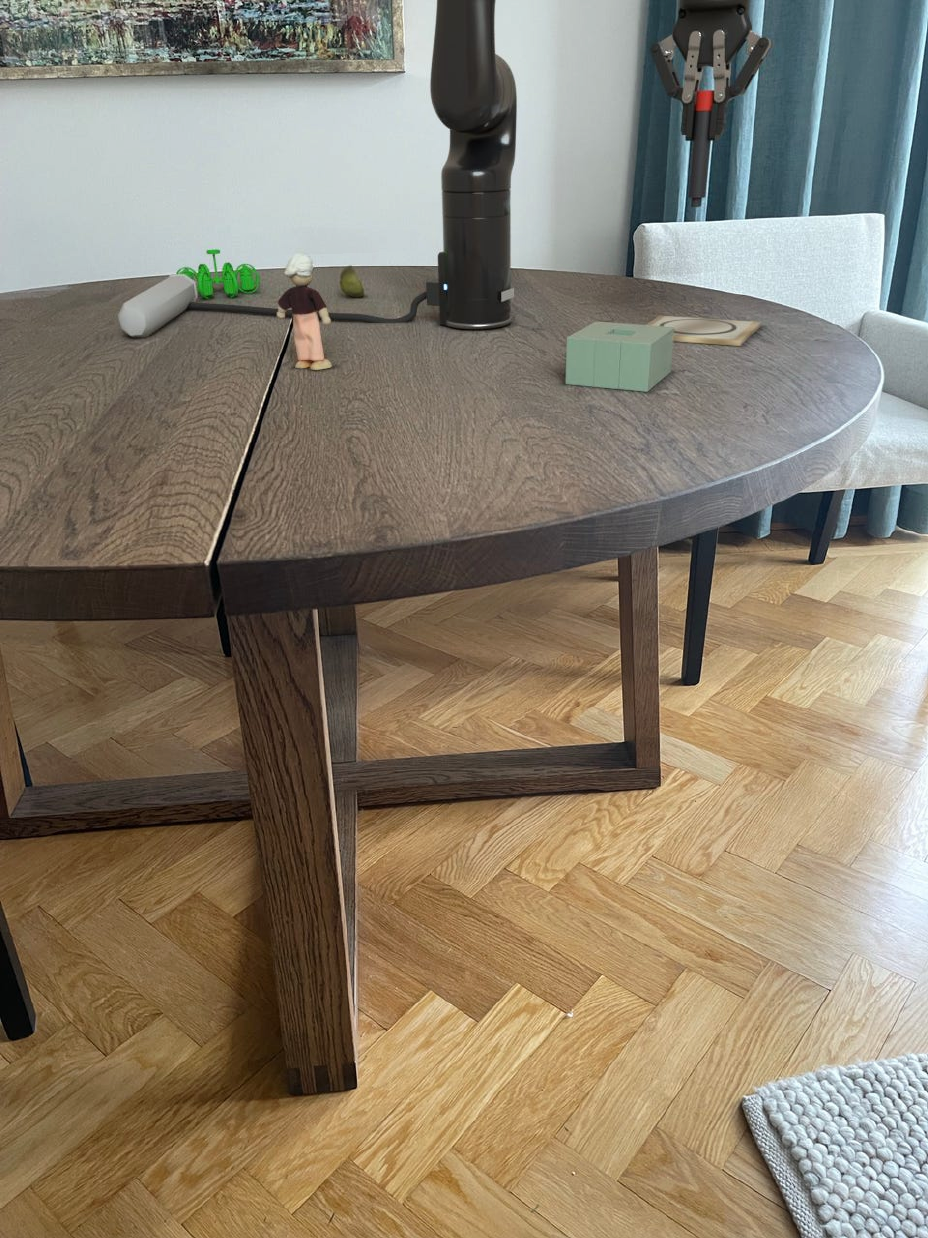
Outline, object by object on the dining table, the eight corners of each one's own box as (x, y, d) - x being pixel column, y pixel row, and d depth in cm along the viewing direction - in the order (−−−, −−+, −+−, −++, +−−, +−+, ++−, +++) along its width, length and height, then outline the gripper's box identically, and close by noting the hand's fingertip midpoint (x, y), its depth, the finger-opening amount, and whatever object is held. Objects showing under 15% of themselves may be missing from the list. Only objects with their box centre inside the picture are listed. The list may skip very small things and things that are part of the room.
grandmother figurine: (345, 364, 112) (336, 252, 106) (331, 371, 109) (320, 256, 103) (289, 360, 114) (276, 250, 108) (273, 368, 111) (259, 255, 105)
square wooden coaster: (631, 337, 121) (631, 331, 121) (659, 319, 131) (659, 313, 131) (740, 346, 116) (740, 339, 115) (760, 326, 126) (761, 320, 125)
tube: (153, 309, 125) (201, 278, 147) (113, 297, 124) (167, 268, 146) (148, 348, 128) (195, 312, 149) (109, 336, 127) (162, 301, 149)
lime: (352, 294, 156) (349, 262, 154) (374, 296, 154) (371, 264, 151) (334, 298, 153) (331, 266, 151) (356, 300, 151) (353, 268, 148)
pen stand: (565, 383, 102) (566, 337, 99) (593, 365, 109) (595, 321, 106) (647, 392, 98) (650, 343, 95) (670, 372, 105) (674, 326, 103)
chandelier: (194, 285, 168) (188, 244, 165) (274, 285, 166) (269, 244, 163) (159, 300, 155) (152, 256, 152) (245, 300, 153) (240, 255, 150)
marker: (685, 206, 110) (695, 90, 104) (689, 205, 112) (699, 90, 106) (702, 207, 109) (713, 89, 103) (706, 205, 111) (717, 90, 105)
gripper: (791, -44, 99) (768, 138, 107) (663, -34, 104) (651, 139, 113) (779, -54, 93) (757, 140, 101) (645, -42, 99) (634, 142, 107)
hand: (701, 139), depth 107 cm, fingers closed on marker, 2 cm apart
